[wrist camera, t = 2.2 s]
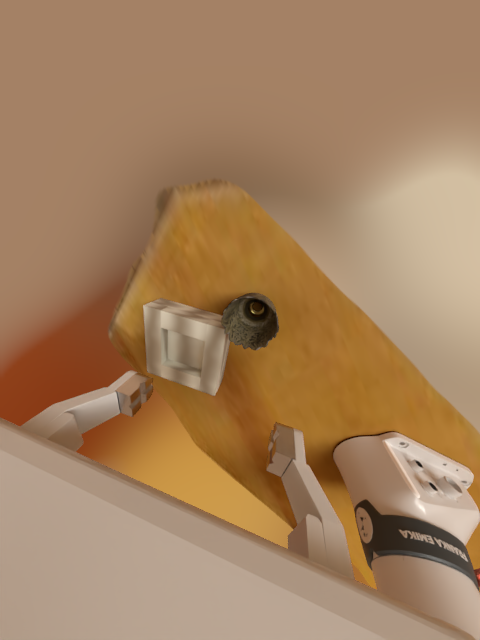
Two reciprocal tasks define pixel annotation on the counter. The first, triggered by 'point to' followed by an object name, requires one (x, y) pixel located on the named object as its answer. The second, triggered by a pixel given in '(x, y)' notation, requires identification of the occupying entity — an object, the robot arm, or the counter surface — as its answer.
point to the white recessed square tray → (185, 344)
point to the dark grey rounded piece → (250, 321)
